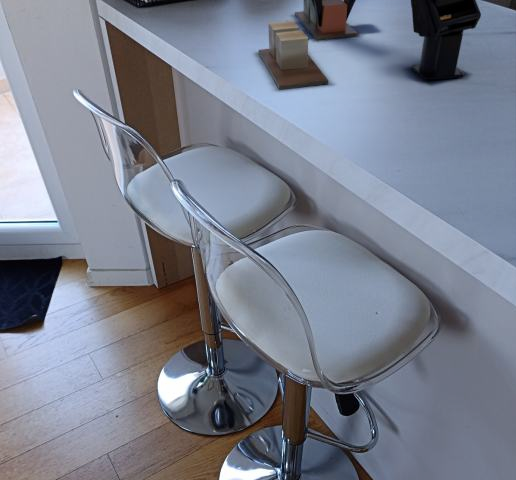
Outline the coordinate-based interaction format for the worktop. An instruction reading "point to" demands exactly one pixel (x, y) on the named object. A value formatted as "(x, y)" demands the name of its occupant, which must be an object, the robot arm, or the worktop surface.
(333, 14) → the letter block
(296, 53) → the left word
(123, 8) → the worktop surface
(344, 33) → the dark wooden base plate
